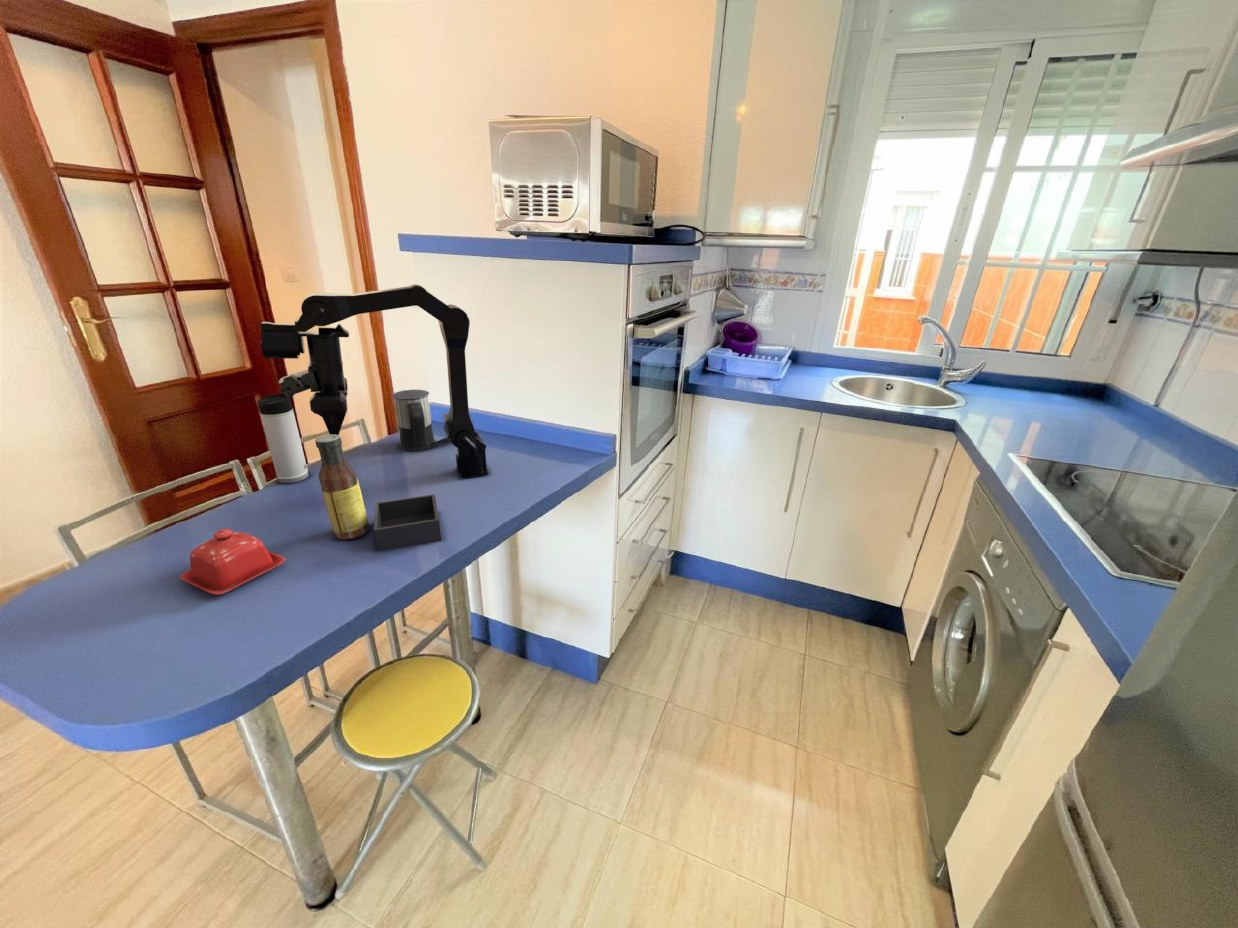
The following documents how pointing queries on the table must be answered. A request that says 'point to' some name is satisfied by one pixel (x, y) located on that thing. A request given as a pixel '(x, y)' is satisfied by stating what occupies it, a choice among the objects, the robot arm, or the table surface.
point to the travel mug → (283, 438)
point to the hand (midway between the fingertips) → (335, 431)
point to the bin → (406, 522)
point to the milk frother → (414, 420)
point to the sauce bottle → (341, 490)
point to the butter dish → (229, 562)
